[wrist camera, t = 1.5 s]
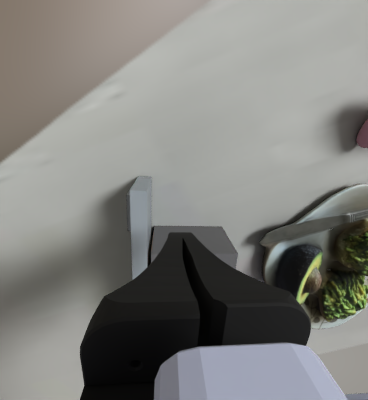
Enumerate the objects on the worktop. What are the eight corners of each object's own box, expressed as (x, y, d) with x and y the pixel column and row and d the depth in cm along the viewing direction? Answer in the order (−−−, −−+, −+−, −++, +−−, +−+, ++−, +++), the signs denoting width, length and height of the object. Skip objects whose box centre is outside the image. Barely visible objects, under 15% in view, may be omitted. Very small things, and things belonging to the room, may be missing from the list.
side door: (150, 319, 24) (147, 362, 20) (137, 319, 24) (130, 363, 20) (151, 176, 19) (147, 191, 14) (133, 176, 19) (123, 190, 14)
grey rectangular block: (209, 324, 26) (219, 367, 21) (153, 326, 25) (150, 371, 20) (221, 226, 21) (237, 253, 17) (154, 225, 21) (150, 253, 16)
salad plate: (391, 128, 20) (454, 127, 16) (438, 247, 25) (495, 271, 21) (232, 245, 23) (248, 272, 18) (305, 330, 28) (331, 367, 24)
